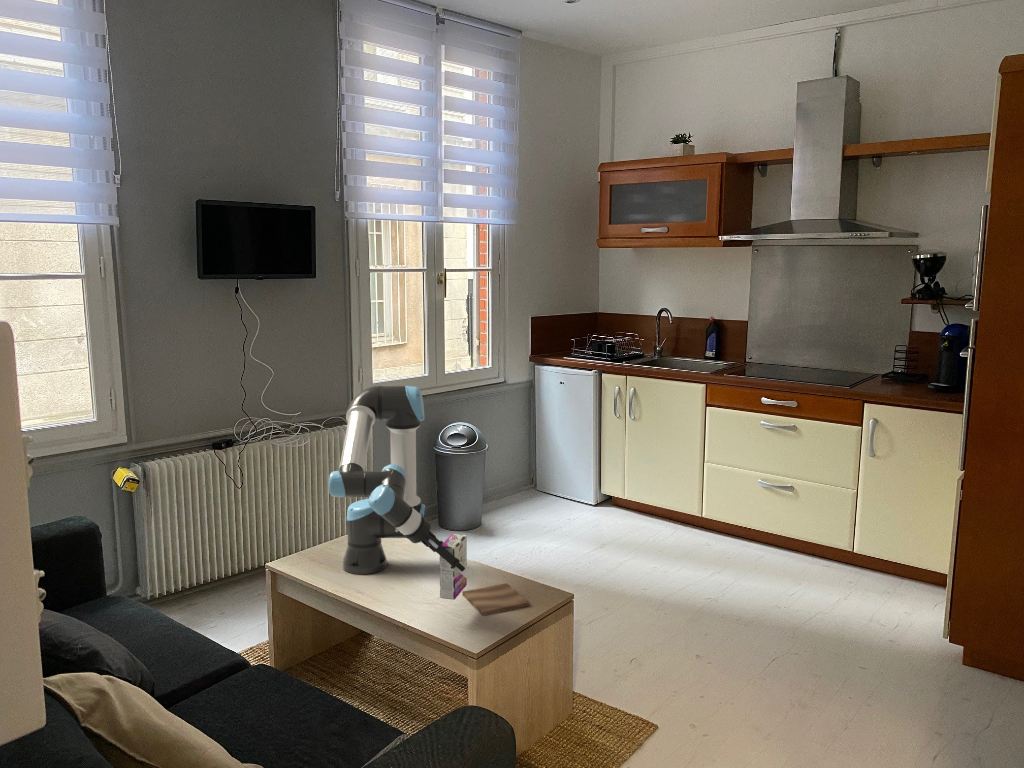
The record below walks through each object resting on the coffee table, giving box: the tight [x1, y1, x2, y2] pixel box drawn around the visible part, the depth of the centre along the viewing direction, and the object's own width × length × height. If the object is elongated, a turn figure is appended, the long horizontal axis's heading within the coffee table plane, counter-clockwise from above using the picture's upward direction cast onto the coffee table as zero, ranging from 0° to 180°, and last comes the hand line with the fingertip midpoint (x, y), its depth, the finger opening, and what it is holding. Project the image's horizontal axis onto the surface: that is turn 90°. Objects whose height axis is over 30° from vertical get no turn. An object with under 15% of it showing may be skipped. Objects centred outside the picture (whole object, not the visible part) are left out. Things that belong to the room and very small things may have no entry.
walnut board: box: [461, 583, 530, 616], centre depth 250 cm, size 16×16×1 cm
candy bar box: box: [439, 533, 468, 601], centre depth 236 cm, size 11×5×16 cm, turn 164°
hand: (461, 567), depth 237 cm, fingers closed on candy bar box, 11 cm apart
